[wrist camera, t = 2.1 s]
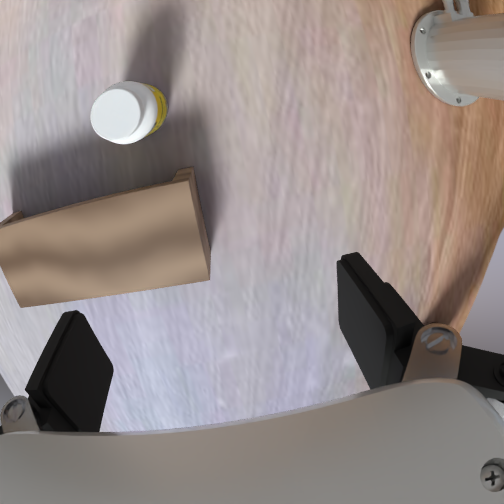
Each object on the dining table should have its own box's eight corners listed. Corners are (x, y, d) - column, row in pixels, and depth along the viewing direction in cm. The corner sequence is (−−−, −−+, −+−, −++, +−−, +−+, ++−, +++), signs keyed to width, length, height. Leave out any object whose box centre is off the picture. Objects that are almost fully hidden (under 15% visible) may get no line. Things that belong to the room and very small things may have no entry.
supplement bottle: (155, 143, 30) (131, 161, 22) (110, 124, 29) (71, 136, 20) (178, 95, 28) (161, 93, 20) (131, 77, 27) (97, 69, 18)
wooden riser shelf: (12, 213, 31) (-13, 233, 26) (193, 166, 32) (188, 180, 27) (39, 281, 36) (20, 307, 31) (210, 252, 37) (210, 280, 31)
